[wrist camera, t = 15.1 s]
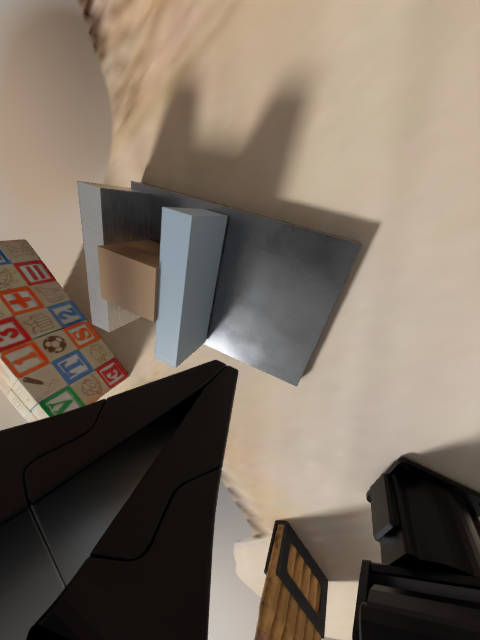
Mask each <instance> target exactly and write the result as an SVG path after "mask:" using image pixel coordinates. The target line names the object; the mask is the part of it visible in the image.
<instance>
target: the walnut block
mask: <svg viewBox="0 0 480 640" xmlns="http://www.w3.org/2000/svg"><path fill="white" fill-rule="evenodd" d="M97 249H98V262H99V276H100V289H101V299H104V300H106V301H108V302H110V303H112V304H115V305H117V306H119V307H121V308H123V309H125V310H128V311H130V312H132V313H134V314H136V315H139V316H141V317H143V318H145V319H147V320H150V321H152V322H155V321H157V301H158V282H159V262H160V243H157V242H154V241H152V240H144V241H135V242H126V243H118V244H109V245H101V246H97Z"/></svg>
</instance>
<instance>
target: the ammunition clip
mask: <svg viewBox="0 0 480 640" xmlns="http://www.w3.org/2000/svg"><path fill="white" fill-rule="evenodd" d="M264 573H265V574H266V579H265V584H264V588H263V593H262V597H261V602H260V606H259V617H258V622H257V628H256V634H255V639H254V640H321V638H324V632H325V618H326V604H327V590H328V580H327V578H326V577H325V575H324V574H323V572H322V571H321V570H320V568H319V567H318V565H317V564H316V562H315V561H314V559H313V558H312V556H311V555H310V554H309V552H308V551H307V549H306V548H305V546H304V545H303V543H302V542H301V540H300V539H299V538H298V536H297V535H296V533H295V532H294V530H293V529H292V527H291V526H290V524H289V523H288V522H284V521H275V524H274V529H273V533H272V538H271V542H270V547H269V552H268V556H267V561H266V565H265V570H264Z"/></svg>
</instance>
